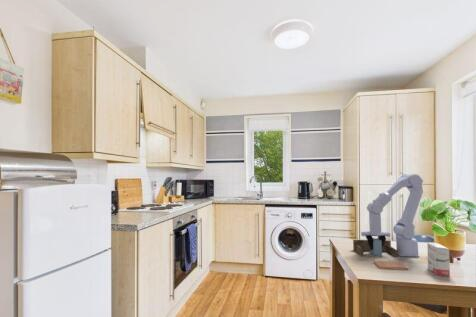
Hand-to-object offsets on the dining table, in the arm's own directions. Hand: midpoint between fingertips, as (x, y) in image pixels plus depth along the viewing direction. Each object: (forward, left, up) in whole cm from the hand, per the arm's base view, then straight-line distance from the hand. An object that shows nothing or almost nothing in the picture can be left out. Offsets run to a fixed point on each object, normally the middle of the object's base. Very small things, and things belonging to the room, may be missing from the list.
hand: (376, 249), depth 140 cm
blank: (0, 0, -2) cm, 2 cm away
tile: (+1, +19, -2) cm, 19 cm away
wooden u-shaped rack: (0, -1, -2) cm, 3 cm away
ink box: (-17, +24, -3) cm, 30 cm away
